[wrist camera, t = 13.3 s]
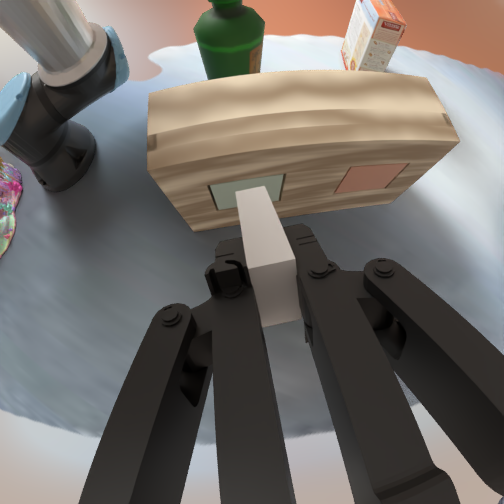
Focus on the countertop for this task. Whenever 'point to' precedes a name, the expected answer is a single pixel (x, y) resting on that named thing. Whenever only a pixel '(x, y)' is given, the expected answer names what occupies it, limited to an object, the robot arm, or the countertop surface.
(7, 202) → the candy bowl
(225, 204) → the sage button
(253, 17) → the bottle
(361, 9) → the cracker box
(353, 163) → the block
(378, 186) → the terracotta button
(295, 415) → the countertop surface
